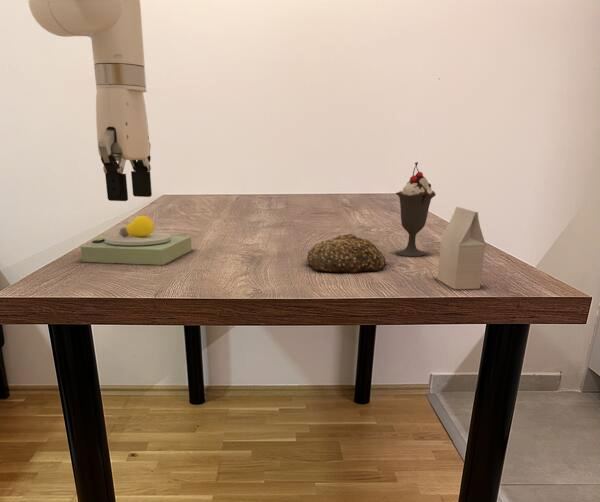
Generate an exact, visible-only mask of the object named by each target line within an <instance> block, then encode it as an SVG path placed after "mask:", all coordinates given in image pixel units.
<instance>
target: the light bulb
mask: <svg viewBox="0 0 600 502" xmlns="http://www.w3.org/2000/svg"><path fill="white" fill-rule="evenodd" d="M154 225H155V224H154V222H153V220H152V219H151V217H149V216H147V215H138V216H137V217H135V218H134V219H133V220H132V221H131V222H130V223H129V224H127V225H126V226H125V227H122V228H120V229H119V232H118V233H119V234H120V235H121V236H123V237H124V236H127V235H130V236H138V237H147V236H149V235H150V234H151V233H152V232H154V227H155V226H154Z"/></svg>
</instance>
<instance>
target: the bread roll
mask: <svg viewBox="0 0 600 502" xmlns="http://www.w3.org/2000/svg"><path fill="white" fill-rule="evenodd" d="M306 259H307V263H308V264H309V265H310V266H311V267H312V268H313V269H314V270H317V271H321V272H327V273H346V274H355V273H356V274H357V273H361V272H376V271H379V270H380V269H382V268H383V267H384V265H385V264H386V262H387V259H386V256H384V254H383V253H382V251H381V250H380V249H378V247H377V246H376V245H375V244H374V243H372V242H371V241H370V240H368V239H365V238H362V237H358V236H356V235H355V234H353V233H349V234H348V233H347V234H342V235H338V236H336V237H332V238H330V239H326V240H323V241H320V242H318V243H315V244H314V245H313V246H311V248H310V249H309V250H308V252H307V255H306Z"/></svg>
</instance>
